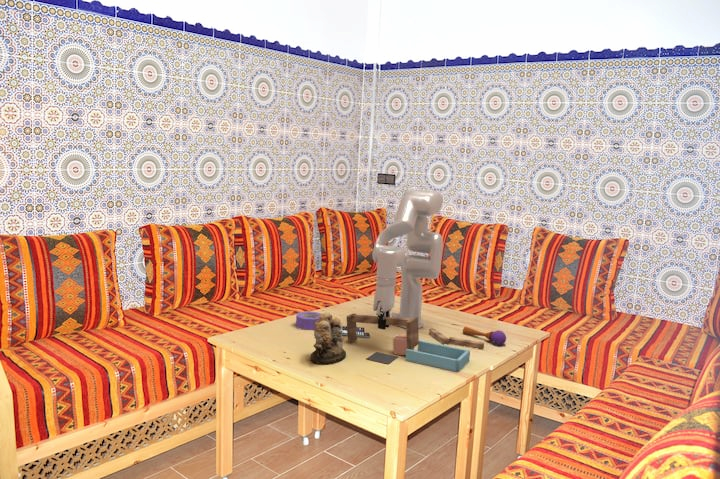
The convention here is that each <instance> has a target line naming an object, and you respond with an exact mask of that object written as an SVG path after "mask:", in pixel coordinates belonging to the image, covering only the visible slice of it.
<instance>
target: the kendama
mask: <svg viewBox="0 0 720 479" xmlns="http://www.w3.org/2000/svg"><path fill="white" fill-rule="evenodd" d="M462 334H463V335H469V336H470V335H471V336H479V337H480V336H481V337H485V338H486V339H487V340H488V341H489V342H492V343H493V344H494V345H495V344H496V346H502V345H504V344H505V343H506V341H507V336H506V334H505V333H504V331H502V330H495V331H493V330H492V331H489V332H486V333H485V332H481V331H479V330H477V329H474V328H471V327H468V326H463V328H462Z"/></svg>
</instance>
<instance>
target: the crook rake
mask: <svg viewBox="0 0 720 479" xmlns="http://www.w3.org/2000/svg"><path fill="white" fill-rule="evenodd" d="M385 319H386V325H389V326H396V327H400V326H406V328H405V329H406V332H405V333H406V335H407V349H410V350H411V349H413V348H414V349H415V347H418V344H419V340H420V337H419V336H420V335H419V328H418V317H413V318H411V319H410V318H397V317H392V316H390V317H385ZM357 323H359V324H372V325H378V316H377V315H370V314H369V315H367V314H366V315H365V314H356V313H350V314H349V315H346V332H347V333H346V336H347V343H350V344H351V343H353V342H356V340H358V330H357V328H358V327H357Z"/></svg>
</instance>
